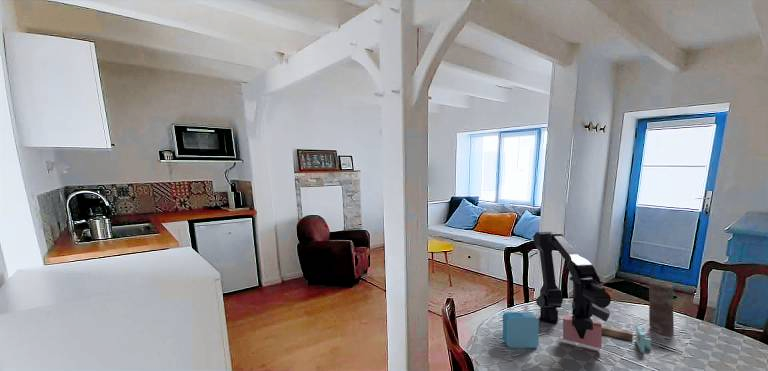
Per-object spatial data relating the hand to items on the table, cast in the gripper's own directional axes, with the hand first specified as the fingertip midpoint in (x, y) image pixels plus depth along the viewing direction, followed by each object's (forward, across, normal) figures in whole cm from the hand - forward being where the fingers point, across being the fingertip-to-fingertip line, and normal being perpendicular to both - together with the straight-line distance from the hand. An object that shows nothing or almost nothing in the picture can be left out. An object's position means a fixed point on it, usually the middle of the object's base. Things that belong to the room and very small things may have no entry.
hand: (581, 335), depth 113 cm
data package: (+5, -10, +20) cm, 23 cm away
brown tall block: (+4, +29, -28) cm, 41 cm away
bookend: (+4, +10, -20) cm, 23 cm away
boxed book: (+2, 0, 0) cm, 2 cm away
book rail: (+4, +16, -8) cm, 18 cm away
